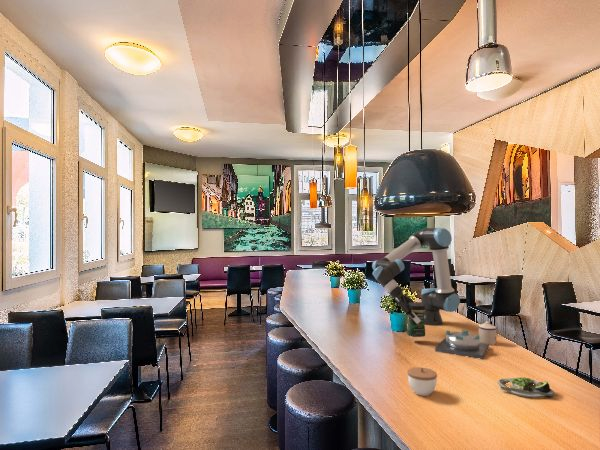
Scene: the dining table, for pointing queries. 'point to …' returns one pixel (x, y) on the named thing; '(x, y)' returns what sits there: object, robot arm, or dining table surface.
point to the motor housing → (462, 344)
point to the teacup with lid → (487, 333)
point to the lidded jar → (422, 380)
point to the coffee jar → (413, 327)
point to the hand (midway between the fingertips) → (421, 320)
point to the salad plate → (527, 387)
